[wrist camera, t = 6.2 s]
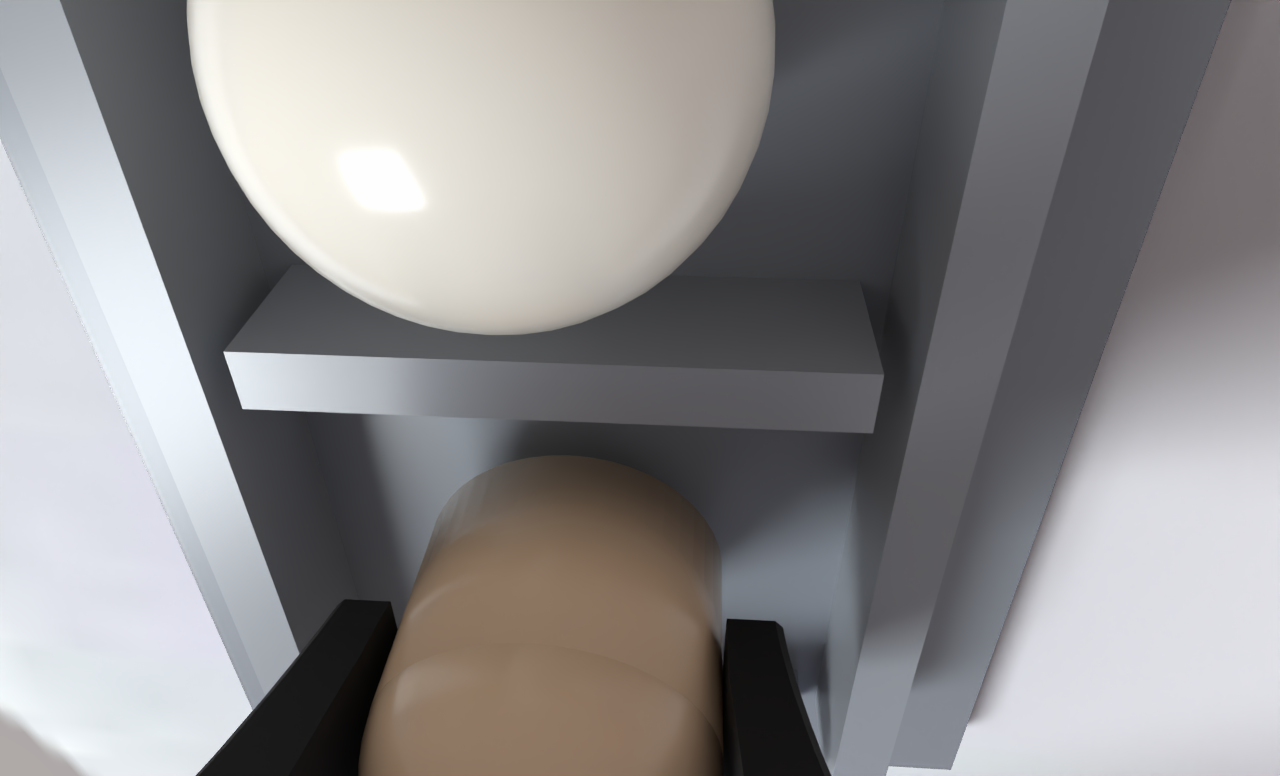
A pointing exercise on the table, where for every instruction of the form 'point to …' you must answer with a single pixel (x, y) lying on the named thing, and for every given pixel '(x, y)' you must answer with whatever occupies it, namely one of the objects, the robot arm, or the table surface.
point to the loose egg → (557, 633)
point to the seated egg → (487, 143)
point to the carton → (653, 336)
